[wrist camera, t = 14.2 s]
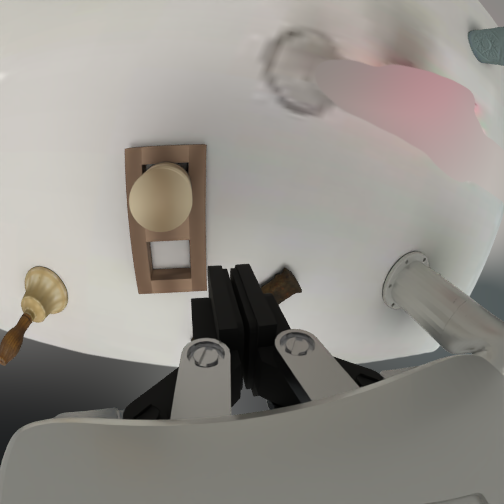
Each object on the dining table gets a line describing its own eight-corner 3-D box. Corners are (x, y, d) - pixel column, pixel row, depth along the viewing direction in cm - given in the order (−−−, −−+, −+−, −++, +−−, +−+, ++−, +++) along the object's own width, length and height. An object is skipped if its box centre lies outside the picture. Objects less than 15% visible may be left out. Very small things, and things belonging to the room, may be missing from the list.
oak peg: (191, 157, 30) (193, 167, 21) (191, 203, 33) (193, 231, 24) (144, 160, 29) (126, 170, 20) (145, 205, 31) (131, 234, 22)
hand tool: (284, 262, 40) (296, 277, 35) (296, 280, 41) (307, 296, 37) (180, 327, 40) (181, 348, 36) (196, 342, 42) (198, 362, 38)
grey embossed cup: (487, 50, 30) (523, 52, 19) (484, 74, 33) (523, 78, 22) (467, 21, 26) (505, 18, 15) (463, 43, 29) (505, 42, 18)
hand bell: (38, 314, 33) (3, 385, 19) (18, 270, 29) (-33, 334, 15) (75, 309, 34) (44, 388, 20) (55, 261, 31) (4, 332, 17)
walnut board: (204, 144, 30) (206, 145, 27) (204, 279, 37) (206, 290, 35) (130, 147, 28) (124, 148, 25) (141, 282, 35) (138, 293, 33)
